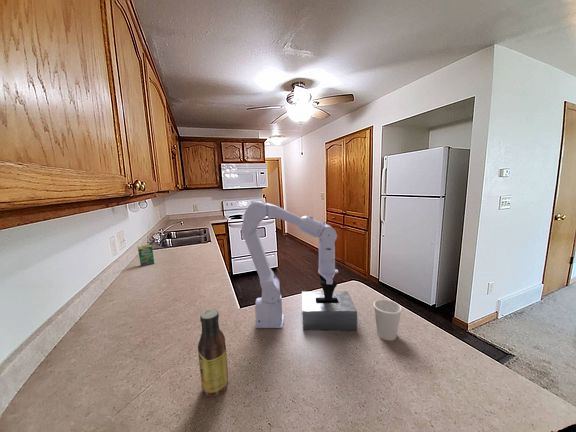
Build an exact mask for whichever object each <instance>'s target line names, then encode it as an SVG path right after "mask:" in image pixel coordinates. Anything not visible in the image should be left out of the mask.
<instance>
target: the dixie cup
mask: <svg viewBox="0 0 576 432" xmlns="http://www.w3.org/2000/svg"><path fill="white" fill-rule="evenodd" d="M373 309H374V315H375V316H374V317H375V325H376V334H377V336H378V337H379V338H380V339H382V340H385V341H389V342H390V341H394V340H396V339H397V335H398V330H399V324H400V320H401V315H402V314H401V313H402V311H403V308H402V306H401V305H400V304H399V303H397V302H396V301H393V300H391V299H378V300H375V301H373Z"/></svg>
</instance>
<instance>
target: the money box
mask: <svg viewBox="0 0 576 432" xmlns="http://www.w3.org/2000/svg"><path fill="white" fill-rule="evenodd" d="M301 308H302V310H301V311H302V313H301V314H302V330H303V331H329V332H330V331H331V332H332V331H333V332H334V331H342V332H343V331H347V332H348V331H351V332H352V331H358V330H357V329H358V326H357V325H358V310H357V308H356V306H355V304H354V301H353V300H352V298H351V295H350V294H349V292H348V291H345V290H343V291H335V290H334V292H333V296H332V300H331V301H326V300H325V297H324V291H301Z"/></svg>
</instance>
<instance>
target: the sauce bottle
mask: <svg viewBox="0 0 576 432" xmlns="http://www.w3.org/2000/svg"><path fill="white" fill-rule="evenodd" d="M199 317H200V318H199V321H200V323H201V335H200V339H199V341H198V344H197V354H198V355H197V356H198V364H199V374H200V383H201V389H202V392H203V395H205V396H206V397H210V398H215V397H218V396H220V395H221V394H223V393H224V392H225V390H226V388H227V387H228V384H229V383H228V382H229V371H228V358H227V355H228V354H227V346H226V345H227V344H226V336H225V334H224V333H223V331H222V330H221V329H220V325H219V324H220V323H219V317H220V316H219V311H218V310H217V309H216V308H209V309H206V310H204V311H203V312H201V313H200V316H199Z"/></svg>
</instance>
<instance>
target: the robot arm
mask: <svg viewBox="0 0 576 432" xmlns="http://www.w3.org/2000/svg"><path fill="white" fill-rule="evenodd" d="M266 217H267V219H268V220H269V219H274V218H277V219H279V220H282V221H284V222H287V223H289V224H292V225H295V226H297V228H298V230H299V232H301V233H303V234H306V235H309V236H310V237H313V238H319V239H318V270H317V275H319V276H318V277H319V278H320V280H319V283H320V285H321V289H322V292H324V297H325V300H326V301H331V300H332V296H333V292H334V291H335V290H336V287H337V285H338V281H337V280H336V281H335V280H333V279H334V277H335V275H336V274H338V273H339V270H338V269H337V268H336V246H335V244H336V243H335V242H336V240H337V239H338V234H337V230H336V229H335V228H334V227H332V225H330V224H328V223H326V222H324V221H323V220H322V221H319V220H317V219H315V218H314V216H313V215H304V216H298V215H297V214H295V213H292V212H291V211H288V210H287V209H284V208H283V207H281V206H278V205H275V204H273V203H269V202H264V201H263V200H255V201H254V202H252V203H250V204H249V205H248V207H247V209H246V210H245V211H244V216H243V220H242V225H241V233H242V236H243V239H244V241H245V244H246V246H247V249H248V252H249V254H250V257H251V259H252V262H253V265H254V267H255V270H256V272H257V273H256V274H258V278H259V283H260V287H261V297H257V298H256V299H255V303H254V304H255V306H254V310H255V311H254V313H255V328H256V329H283V327H284V320H285V314H284V313H283V304H282V303H283V301H282V298H283V297H282V294H281V291H280V289H281V287H280V285H281V282H280V279H279V278H278V277H277V276H276V275H275V272H274V270H272V268H271V265H270V262H269V260H268V257H267V255H266V251H265V248H264V246H263V244H262V241H261V238H260V236H259V233H258V231H257V230H258V229H257V228H258V227H259V226H260V223H261V222H263V220H264V219H266Z"/></svg>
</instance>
